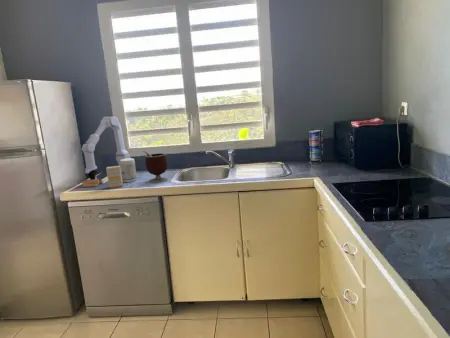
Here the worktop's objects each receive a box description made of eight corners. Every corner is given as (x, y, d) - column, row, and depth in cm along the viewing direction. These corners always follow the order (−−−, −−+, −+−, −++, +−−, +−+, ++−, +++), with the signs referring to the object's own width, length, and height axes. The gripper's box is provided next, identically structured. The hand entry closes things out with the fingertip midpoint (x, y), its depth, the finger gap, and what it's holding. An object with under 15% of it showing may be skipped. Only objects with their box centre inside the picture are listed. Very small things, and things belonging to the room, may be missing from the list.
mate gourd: (172, 177, 239) (169, 148, 235) (163, 183, 227) (159, 152, 222) (152, 177, 244) (148, 149, 240) (141, 183, 231) (137, 152, 227)
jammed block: (86, 184, 237) (85, 179, 236) (99, 184, 236) (98, 179, 235) (83, 186, 232) (82, 181, 231) (96, 186, 231) (95, 180, 230)
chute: (94, 179, 254) (94, 175, 254) (112, 177, 253) (111, 174, 253) (84, 184, 239) (84, 181, 238) (103, 183, 238) (103, 179, 237)
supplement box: (123, 185, 229) (120, 165, 226) (122, 187, 224) (119, 166, 222) (110, 186, 228) (107, 166, 225) (108, 188, 223) (105, 168, 221)
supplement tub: (119, 181, 241) (116, 160, 238) (132, 178, 247) (129, 157, 244) (127, 183, 234) (124, 161, 231) (139, 180, 241) (137, 158, 238)
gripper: (89, 160, 242) (91, 179, 244) (79, 164, 227) (82, 184, 230) (99, 159, 241) (101, 178, 244) (90, 163, 227) (93, 184, 230)
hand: (93, 181), depth 237 cm, fingers closed
